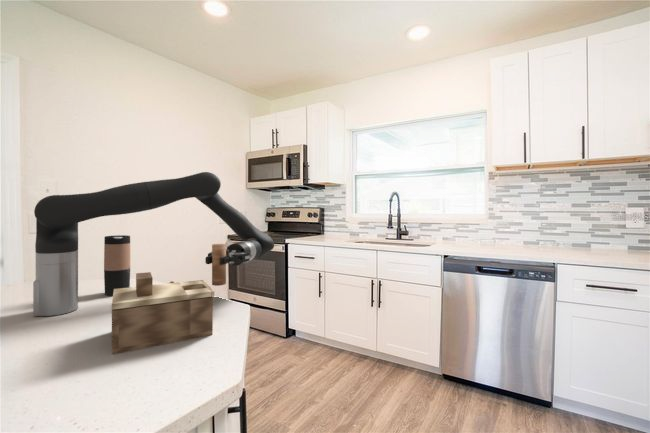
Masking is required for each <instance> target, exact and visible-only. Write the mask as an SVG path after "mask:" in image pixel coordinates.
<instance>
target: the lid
mask: <svg viewBox="0 0 650 433" xmlns="http://www.w3.org/2000/svg"><path fill="white" fill-rule="evenodd" d="M135 275H136V276H135V277H136V278H135V283H136V284H135V286H131V287H129V288H119V289H114V292H113V296H112V300H111V311H112V310H114V309H122V308H129V307H137V306H144V305H152V304H160V303H167V302H175V301H182V300H190V299H197V298H205V297H215V290H214V289H213V288H212V287H211V286H210V285H208V284H207V283H206V282H205V281H204V280H203V279H201V280H200V279H199V280H189V281H188V280H187V281H181V282H174V283H170V282H168V283H160V284H153V282H154V280H153V279H154V278H153V275H152V272H150V271H149V272H148V271H147V272H138V273H135ZM198 288H201V289H198ZM189 289H193V290H189Z"/></svg>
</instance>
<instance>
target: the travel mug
mask: <svg viewBox="0 0 650 433" xmlns="http://www.w3.org/2000/svg"><path fill="white" fill-rule="evenodd" d="M103 239H104V242H103V243H104V244H103V245H104V249H103V252H104V253H103V256H104V257H103V273H104V274H103V275H104V276H103V280H104V283H103V284H104V295H105V296H106V297H113V292H114V289H119V288H129V287H130V286H131V285H130V284H131V283H130V282H131V235H125V234H123V235H121V234H120V235H119V234H118V235H105V236H104V238H103Z"/></svg>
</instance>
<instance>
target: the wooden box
mask: <svg viewBox="0 0 650 433" xmlns="http://www.w3.org/2000/svg"><path fill="white" fill-rule="evenodd" d="M198 289H201V288H198ZM189 290H193V289H189ZM213 311H214V296H212V297H205V298H197V299H190V300H182V301H175V302H167V303H160V304H152V305H144V306H137V307H129V308H122V309H114V310H112V309H111V355H116V354H121V353H126V352H132V351H135V350H136V351H137V350H140V349H141V350H142V349H146V348H151V347H157V346H160V345H161V346H162V345H168V344H171V343H177V342H181V341H186V340H192V339H198V338H202V337H207V336H212V335H213V331H214V330H213V325H214V324H213V323H214V322H213V315H214V312H213Z"/></svg>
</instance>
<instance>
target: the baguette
mask: <svg viewBox="0 0 650 433" xmlns="http://www.w3.org/2000/svg"><path fill="white" fill-rule="evenodd" d="M226 249H227V243H213V244H211V252H212V263H211V285H212V286H215V287H216V286H225V285H226V284H227V264H224V265H220V258H221V257H224V256H226Z"/></svg>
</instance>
